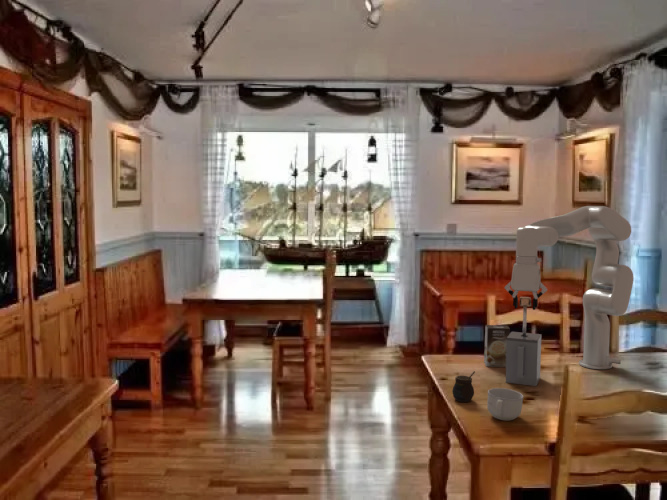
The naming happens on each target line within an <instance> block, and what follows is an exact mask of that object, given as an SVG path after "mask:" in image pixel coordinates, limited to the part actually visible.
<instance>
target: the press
mask: <svg viewBox="0 0 667 500" xmlns="http://www.w3.org/2000/svg"><path fill="white" fill-rule="evenodd" d="M541 356H542V334H541V333H540V334H539V333H533V332H532V333H531V332H526V337H523V332H519V331H510V334H509V336H508V337H507V351H506V367H505V383H508V384H515V385H524V386H532V387H537V386H538V383H539V381H540V380H541V366H542V365H541V362H542V359H541V358H542V357H541Z"/></svg>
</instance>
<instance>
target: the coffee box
mask: <svg viewBox="0 0 667 500" xmlns="http://www.w3.org/2000/svg"><path fill="white" fill-rule="evenodd" d="M484 331H485V333H484V353H483V358H484V360H483V363H484V365H485V366H486V367H491V368H492V367H493V368H506V351H507V337H508V336H509V334H510V333H511V329H510V327H509V326H508V325H498V324H485V330H484Z"/></svg>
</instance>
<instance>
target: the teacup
mask: <svg viewBox="0 0 667 500" xmlns="http://www.w3.org/2000/svg"><path fill="white" fill-rule="evenodd" d="M523 400H524V395H523V394H522V393H521V392H520V391H516V390H514V389H511V388H503V387H495V388H490V389H488V390H487V401H486V402H487V403H486V404H487V411H488V413H490V414H491V415H492V417H493V418H494V419H497V420H501V421H506V422H507V421H509V422H511V421H513V420H515V419H516V418H518V417H520V415H521V413H522V408H523V402H524V401H523Z"/></svg>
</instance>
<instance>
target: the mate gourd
mask: <svg viewBox="0 0 667 500" xmlns="http://www.w3.org/2000/svg"><path fill="white" fill-rule="evenodd" d="M475 373H476V372H475V371H473V372H472V373H471V374H470V375H469V376H468V375H457V376H455V377H454V378H455V381H454V384H453V388H452V390H451V391H452V395H453V398H454V399H455V400H456V401H457V402H459V403H468V402H470V401H472V399H473V397H474V396H475V389H474V385H472V382H473V378H472V376H474V374H475Z"/></svg>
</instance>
